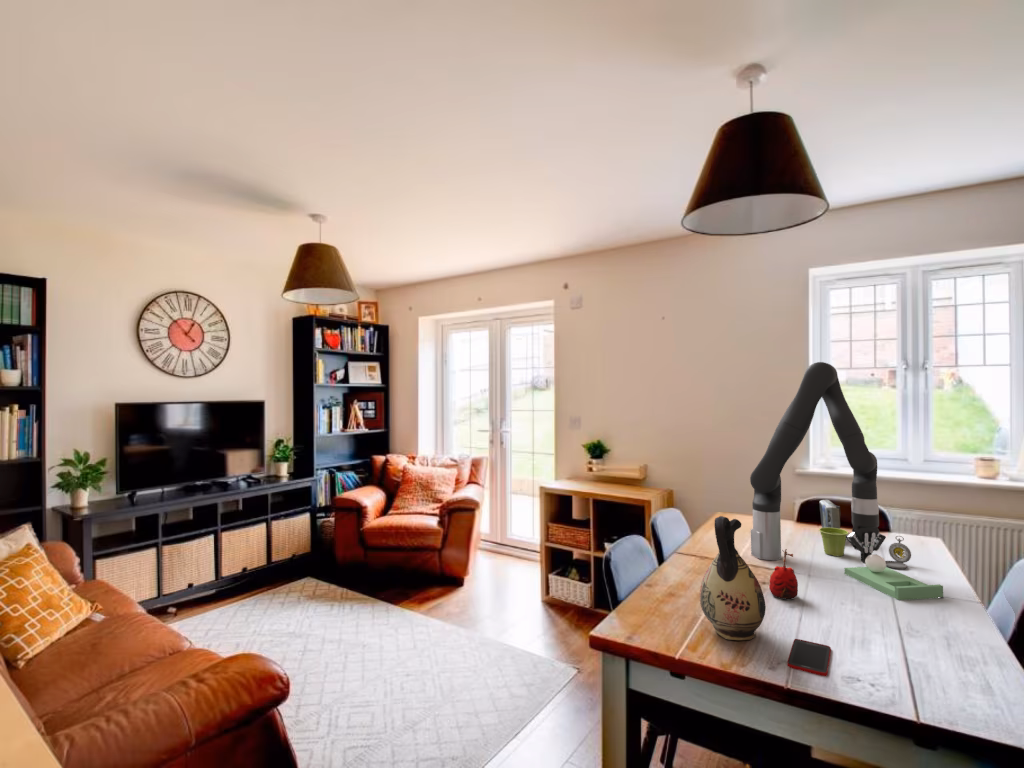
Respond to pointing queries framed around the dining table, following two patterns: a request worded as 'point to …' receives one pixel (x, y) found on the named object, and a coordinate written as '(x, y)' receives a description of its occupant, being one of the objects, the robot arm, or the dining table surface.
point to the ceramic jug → (731, 588)
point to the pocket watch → (899, 550)
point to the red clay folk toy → (784, 581)
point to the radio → (829, 514)
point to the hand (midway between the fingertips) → (866, 563)
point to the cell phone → (809, 657)
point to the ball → (875, 563)
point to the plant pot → (833, 540)
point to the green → (895, 583)
